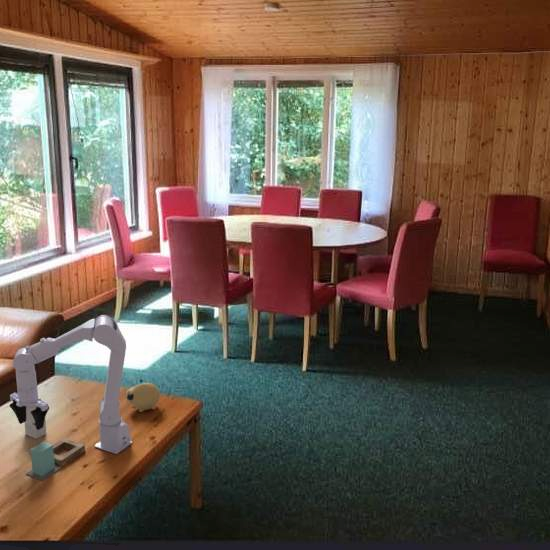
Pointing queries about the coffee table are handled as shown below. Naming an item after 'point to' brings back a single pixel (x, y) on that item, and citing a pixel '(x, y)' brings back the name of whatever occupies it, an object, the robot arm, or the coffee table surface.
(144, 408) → the cream rounded figure
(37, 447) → the teal block
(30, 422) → the skincare box
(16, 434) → the coffee table surface
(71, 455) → the block
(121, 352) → the robot arm
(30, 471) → the mat
